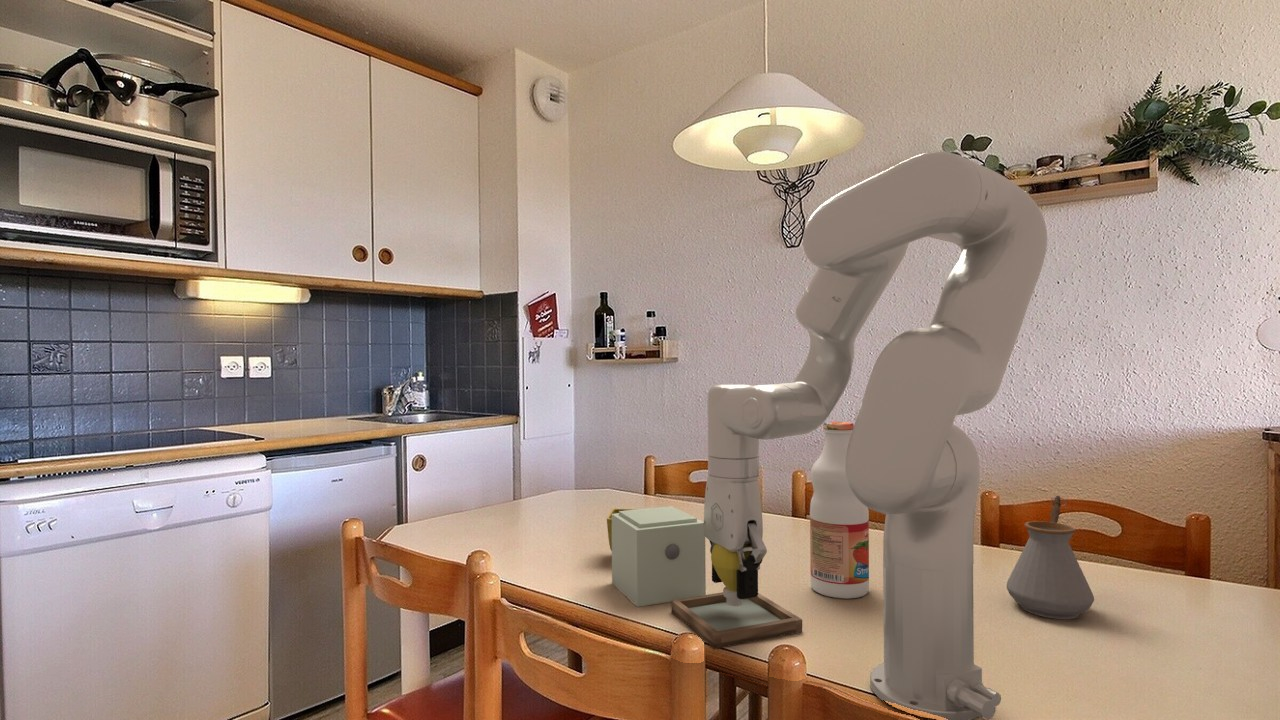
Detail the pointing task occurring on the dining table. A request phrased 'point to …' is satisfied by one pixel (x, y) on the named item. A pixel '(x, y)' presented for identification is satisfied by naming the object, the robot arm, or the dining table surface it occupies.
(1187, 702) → the dining table surface
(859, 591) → the fruit juice
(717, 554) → the light bulb
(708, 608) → the tray
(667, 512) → the housing unit
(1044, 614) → the coffee pot
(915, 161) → the robot arm
